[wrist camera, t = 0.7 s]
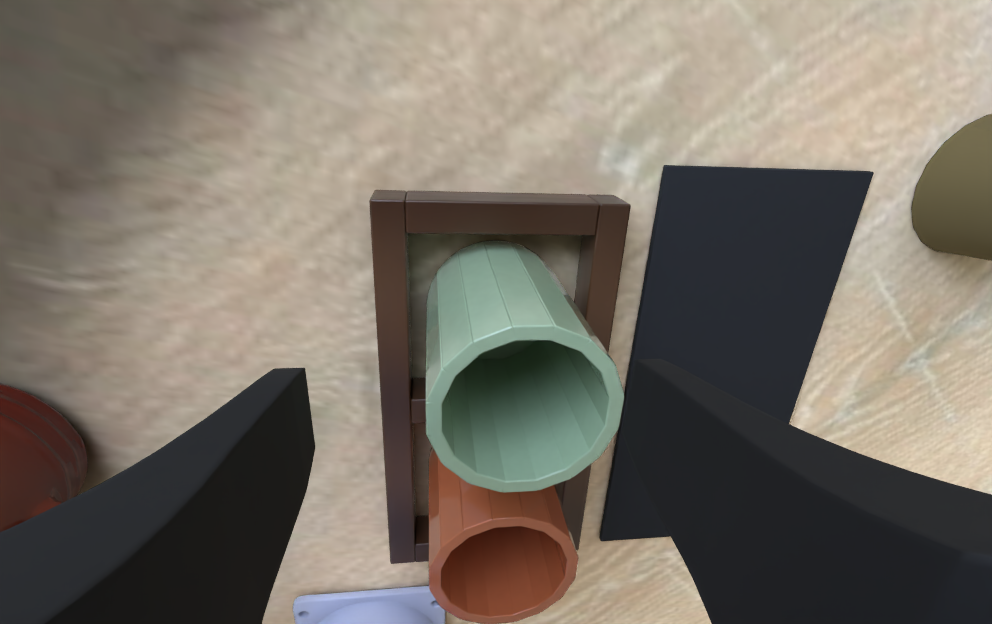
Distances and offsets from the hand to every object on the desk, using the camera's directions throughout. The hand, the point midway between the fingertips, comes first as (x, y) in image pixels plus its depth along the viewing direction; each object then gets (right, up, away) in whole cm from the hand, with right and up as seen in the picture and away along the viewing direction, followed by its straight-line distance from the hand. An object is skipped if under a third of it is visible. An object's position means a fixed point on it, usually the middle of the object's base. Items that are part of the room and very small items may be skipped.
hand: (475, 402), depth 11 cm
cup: (0, +2, +10) cm, 11 cm away
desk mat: (+11, -1, +13) cm, 17 cm away
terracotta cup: (0, -5, +14) cm, 15 cm away
